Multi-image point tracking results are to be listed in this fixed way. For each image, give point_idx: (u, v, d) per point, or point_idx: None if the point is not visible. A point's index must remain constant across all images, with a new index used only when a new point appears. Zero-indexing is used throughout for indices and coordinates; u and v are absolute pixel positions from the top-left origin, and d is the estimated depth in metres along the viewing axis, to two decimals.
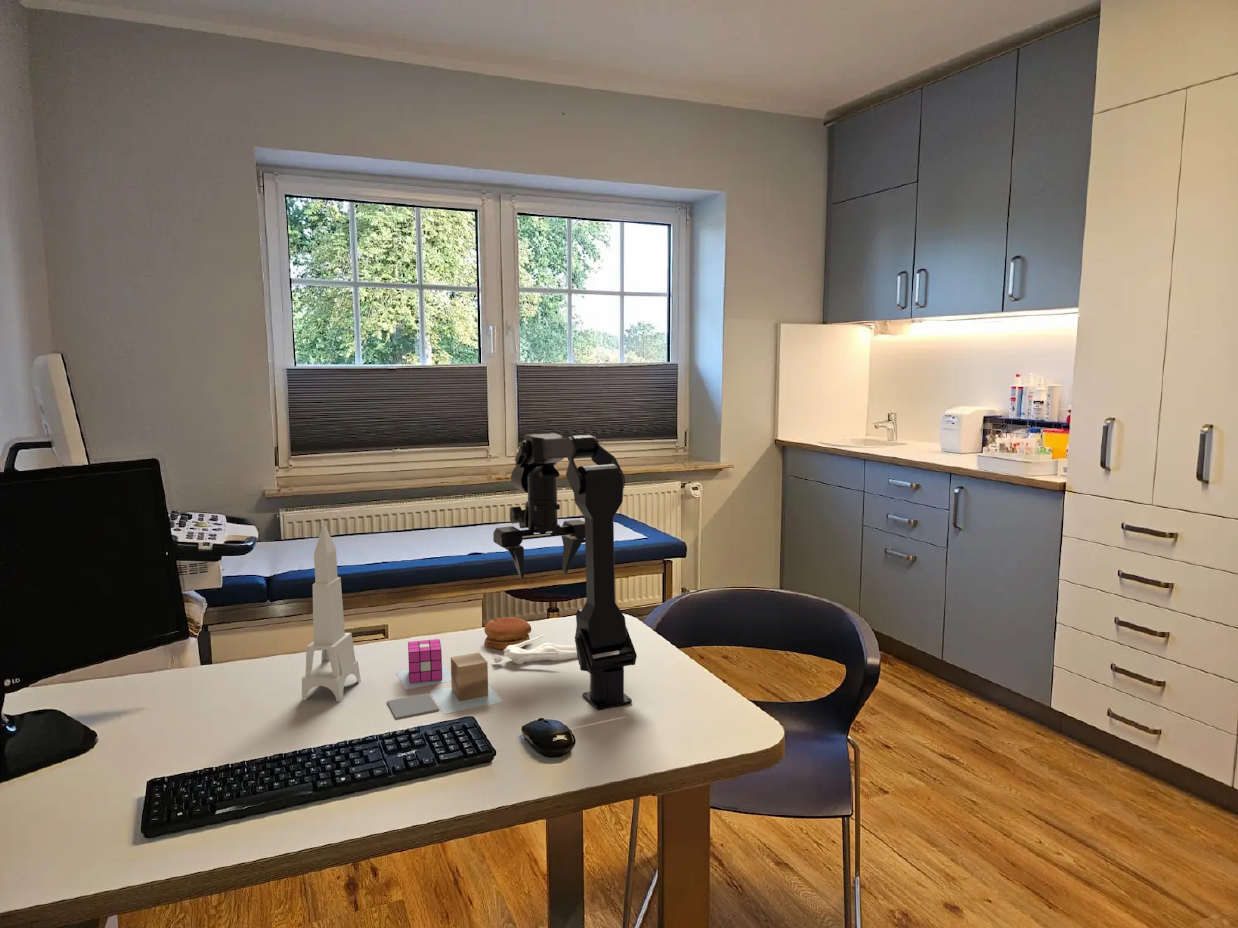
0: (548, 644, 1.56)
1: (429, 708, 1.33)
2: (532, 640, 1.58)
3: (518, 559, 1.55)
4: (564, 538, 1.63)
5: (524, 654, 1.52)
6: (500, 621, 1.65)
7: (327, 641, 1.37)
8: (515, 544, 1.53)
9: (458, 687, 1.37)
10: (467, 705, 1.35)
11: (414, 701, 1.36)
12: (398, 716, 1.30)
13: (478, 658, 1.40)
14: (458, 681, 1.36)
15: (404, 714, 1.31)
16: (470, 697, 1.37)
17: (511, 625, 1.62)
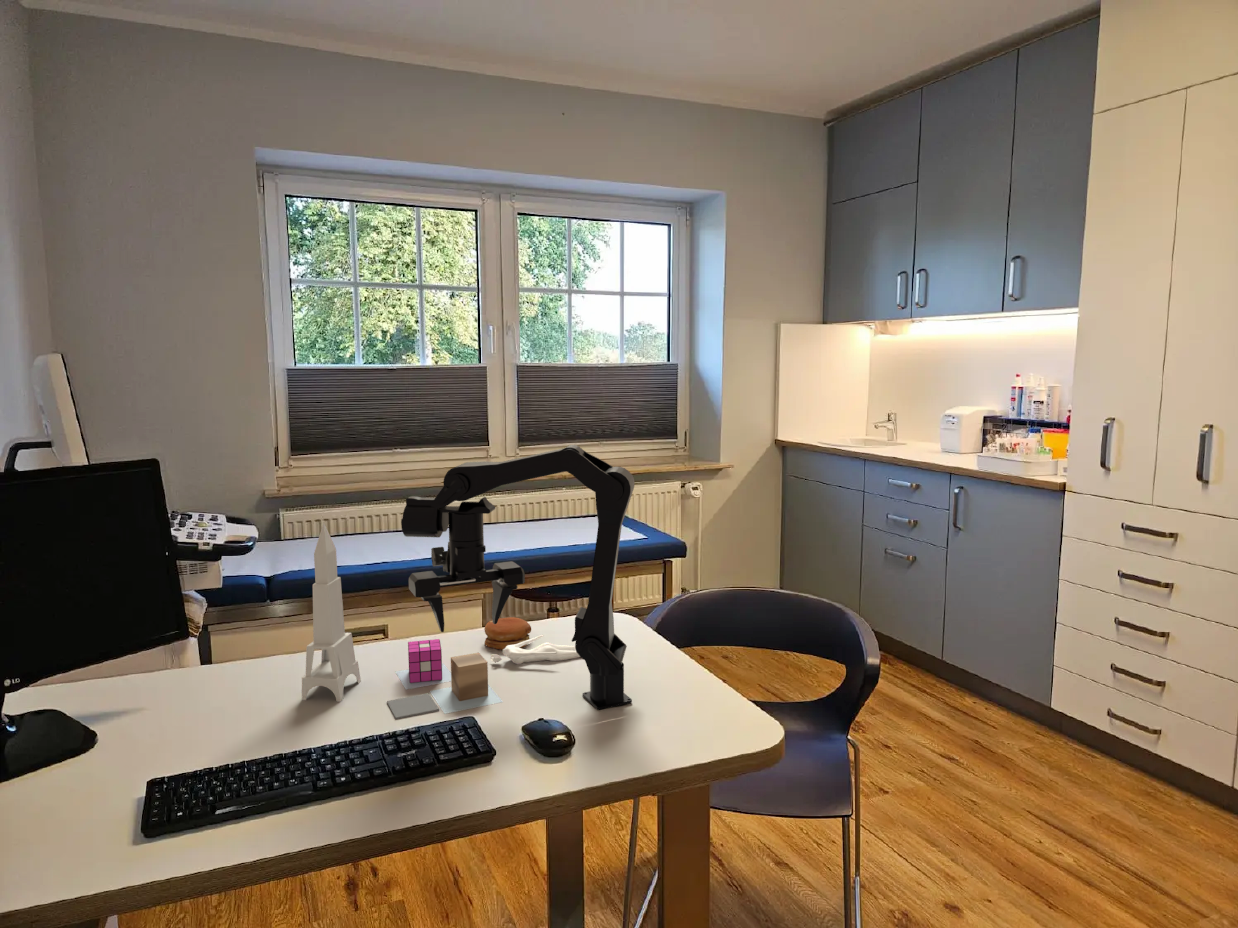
0: (547, 644, 1.56)
1: (429, 708, 1.33)
2: (531, 640, 1.58)
3: (436, 610, 1.33)
4: (494, 583, 1.41)
5: (523, 654, 1.52)
6: (500, 621, 1.65)
7: (327, 641, 1.37)
8: (431, 593, 1.32)
9: (458, 687, 1.37)
10: (467, 705, 1.35)
11: (414, 701, 1.36)
12: (398, 716, 1.30)
13: (478, 658, 1.40)
14: (458, 681, 1.36)
15: (404, 714, 1.31)
16: (470, 697, 1.37)
17: (511, 625, 1.62)
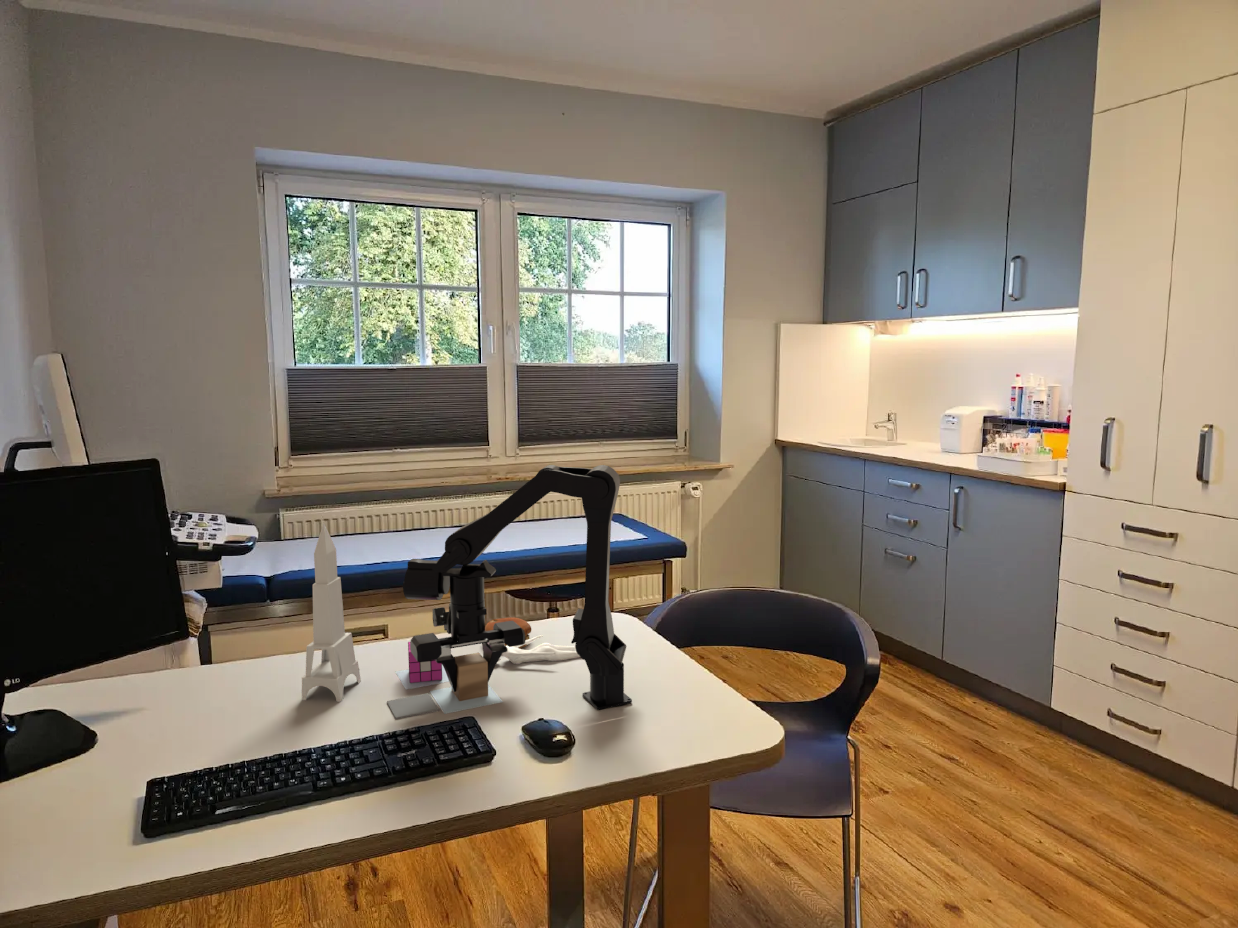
0: (546, 644, 1.56)
1: (429, 708, 1.33)
2: (530, 640, 1.58)
3: (449, 671, 1.35)
4: (484, 645, 1.41)
5: (521, 654, 1.52)
6: (500, 621, 1.65)
7: (327, 641, 1.37)
8: (433, 657, 1.33)
9: (458, 687, 1.37)
10: (467, 705, 1.35)
11: (414, 701, 1.36)
12: (398, 716, 1.30)
13: (478, 658, 1.40)
14: (458, 681, 1.36)
15: (404, 714, 1.31)
16: (470, 697, 1.37)
17: None
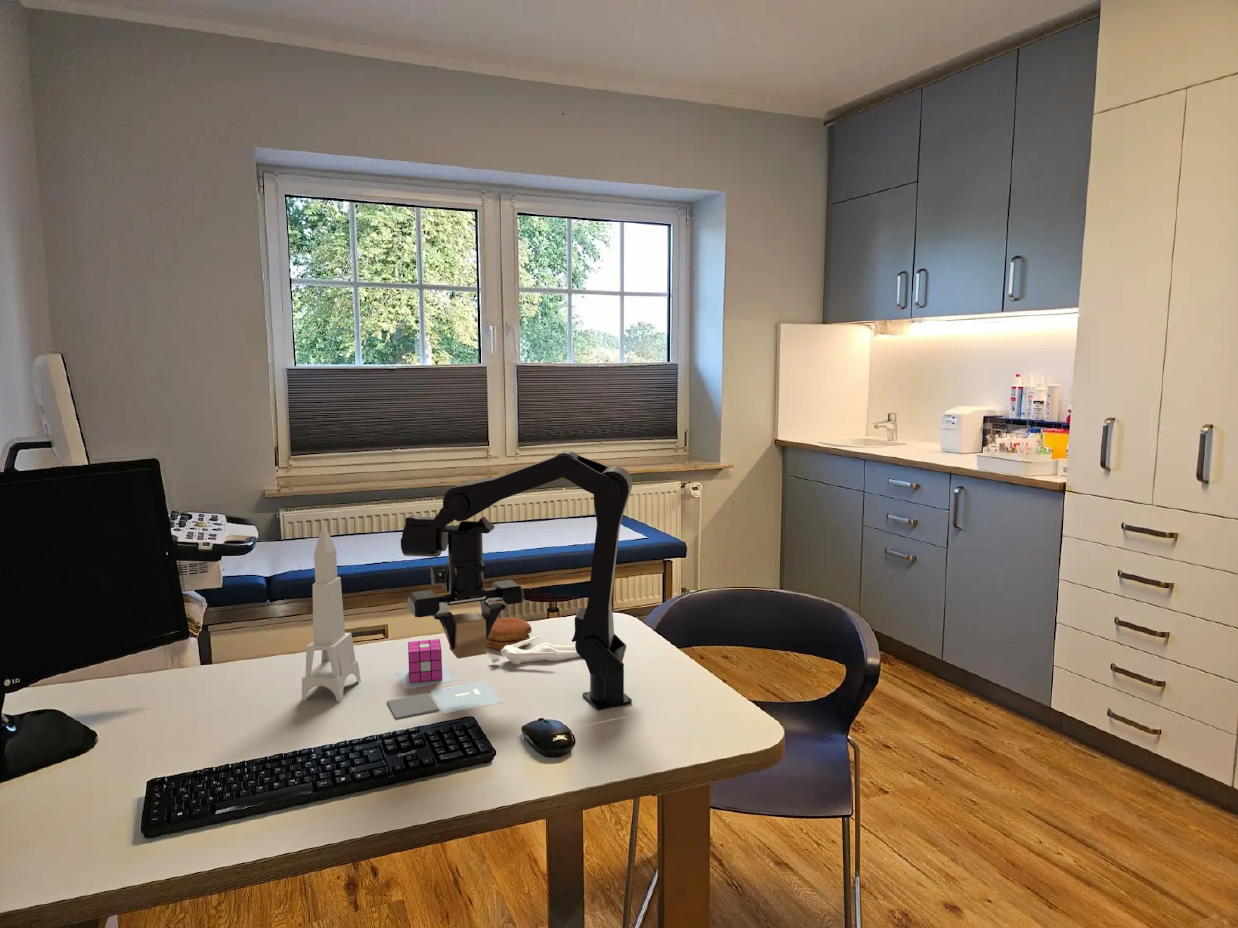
0: (545, 644, 1.56)
1: (429, 708, 1.33)
2: (529, 640, 1.58)
3: (447, 628, 1.34)
4: (482, 603, 1.40)
5: (521, 654, 1.51)
6: (500, 621, 1.65)
7: (327, 641, 1.37)
8: (431, 613, 1.32)
9: (456, 644, 1.36)
10: (467, 705, 1.35)
11: (414, 701, 1.36)
12: (398, 716, 1.30)
13: (476, 616, 1.39)
14: (456, 638, 1.35)
15: (404, 714, 1.31)
16: (468, 655, 1.36)
17: (511, 626, 1.62)
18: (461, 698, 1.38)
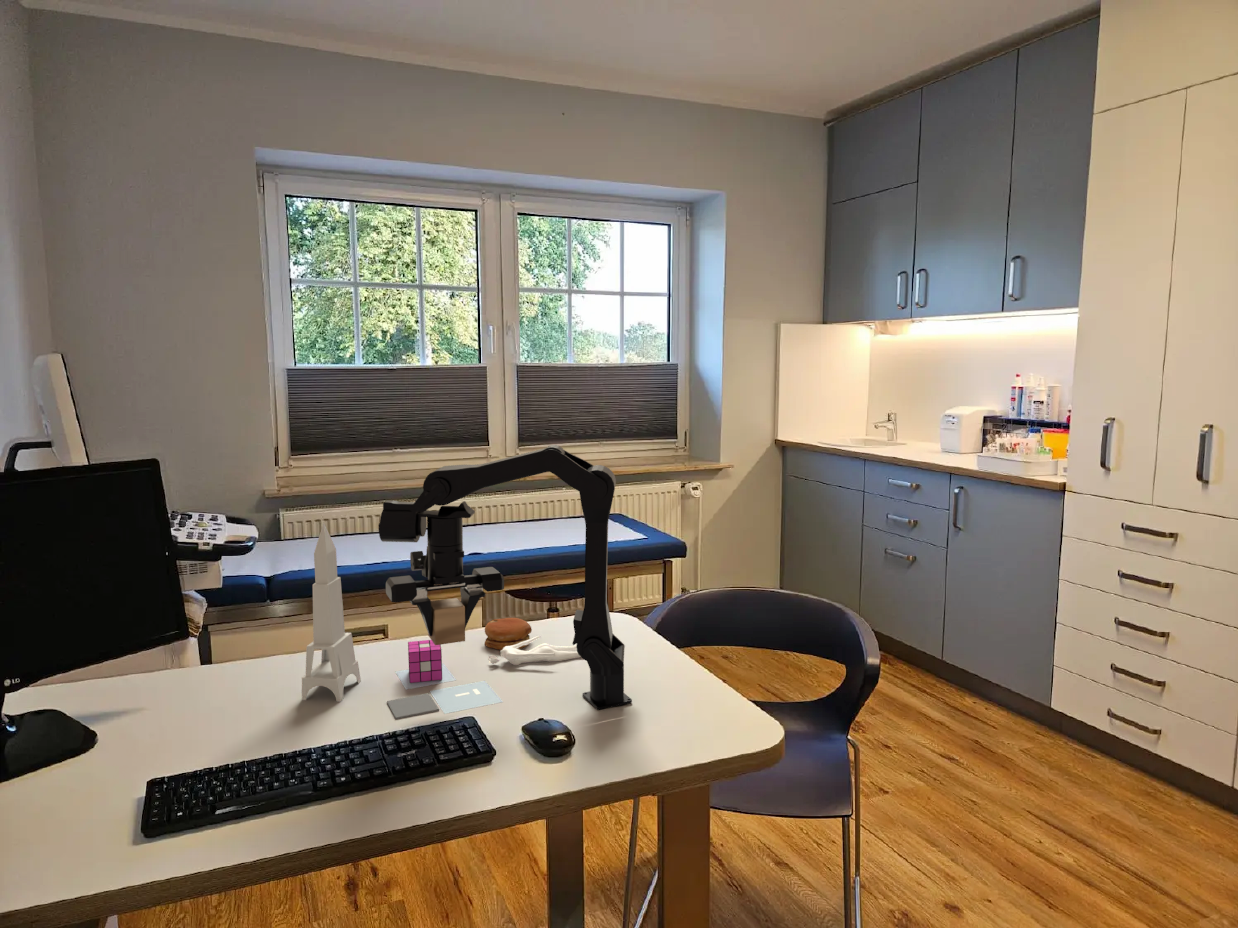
0: (545, 645, 1.56)
1: (429, 708, 1.33)
2: (529, 641, 1.58)
3: (424, 614, 1.32)
4: (462, 590, 1.38)
5: (521, 655, 1.51)
6: (500, 622, 1.65)
7: (327, 641, 1.37)
8: (408, 598, 1.30)
9: (434, 631, 1.34)
10: (467, 705, 1.35)
11: (414, 701, 1.36)
12: (398, 716, 1.30)
13: (455, 602, 1.37)
14: (434, 625, 1.33)
15: (404, 714, 1.31)
16: (446, 642, 1.34)
17: (511, 626, 1.61)
18: (461, 698, 1.38)
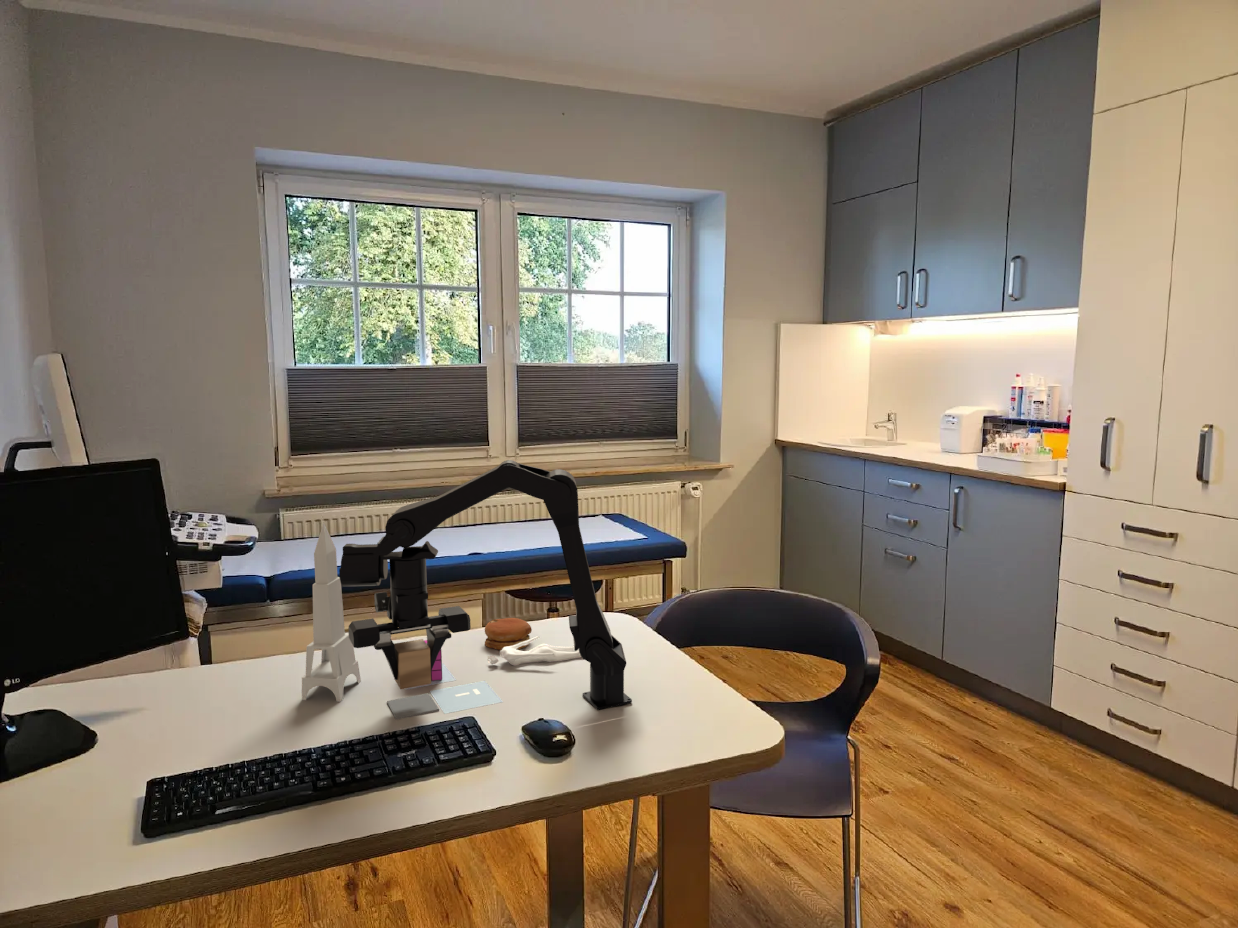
0: (544, 645, 1.56)
1: (429, 708, 1.33)
2: (528, 641, 1.58)
3: (389, 658, 1.29)
4: (428, 631, 1.35)
5: (520, 655, 1.51)
6: (500, 622, 1.65)
7: (327, 641, 1.37)
8: (371, 643, 1.27)
9: (399, 675, 1.31)
10: (467, 705, 1.35)
11: (414, 701, 1.36)
12: (398, 716, 1.30)
13: (421, 644, 1.34)
14: (399, 668, 1.31)
15: (404, 714, 1.31)
16: (411, 685, 1.31)
17: (511, 626, 1.61)
18: (461, 698, 1.38)
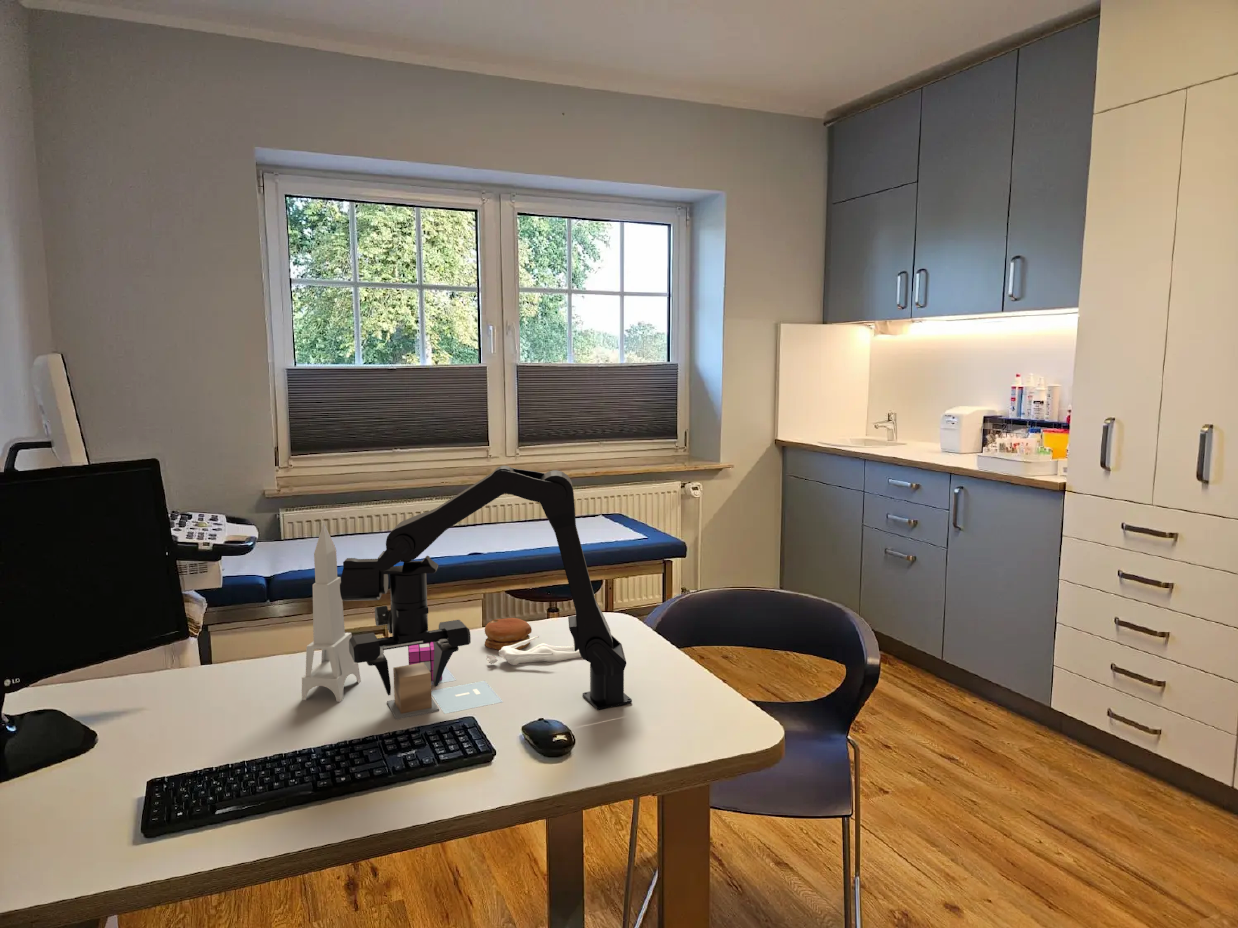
0: (543, 645, 1.56)
1: (429, 708, 1.33)
2: (527, 641, 1.58)
3: (381, 674, 1.29)
4: (435, 644, 1.36)
5: (519, 655, 1.51)
6: (500, 622, 1.64)
7: (327, 641, 1.37)
8: (371, 658, 1.27)
9: (400, 699, 1.31)
10: (467, 705, 1.35)
11: None
12: (398, 716, 1.30)
13: (421, 668, 1.34)
14: (399, 693, 1.31)
15: (404, 714, 1.31)
16: (412, 709, 1.32)
17: (511, 626, 1.61)
18: (461, 698, 1.38)
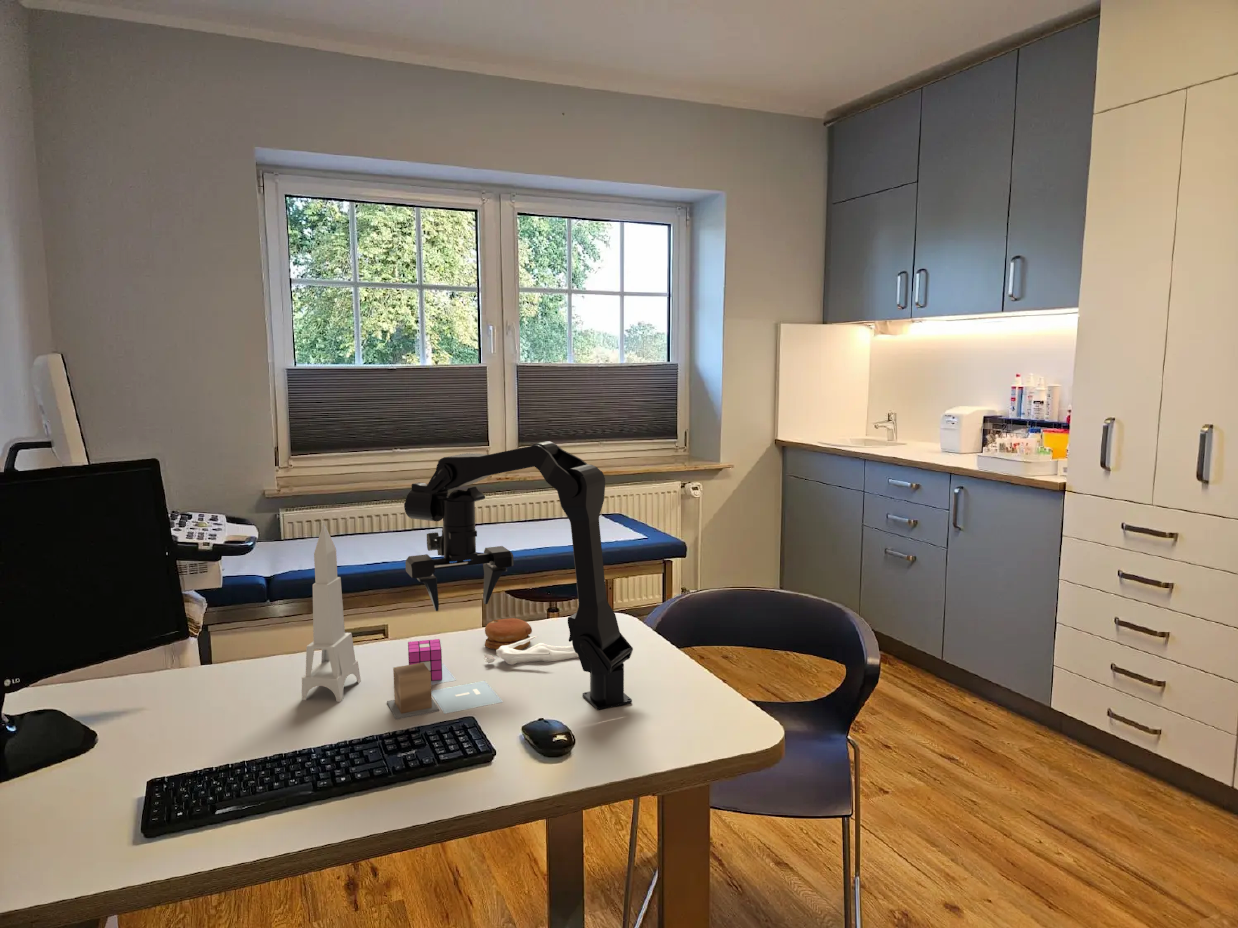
0: (541, 645, 1.56)
1: (429, 708, 1.33)
2: (525, 640, 1.58)
3: (431, 590, 1.44)
4: (485, 566, 1.51)
5: (516, 654, 1.51)
6: (501, 622, 1.64)
7: (327, 641, 1.37)
8: (427, 574, 1.42)
9: (400, 699, 1.31)
10: (467, 705, 1.35)
11: None
12: (398, 716, 1.30)
13: (421, 668, 1.34)
14: (399, 693, 1.31)
15: (404, 714, 1.31)
16: (412, 709, 1.32)
17: (511, 626, 1.61)
18: (461, 698, 1.38)
